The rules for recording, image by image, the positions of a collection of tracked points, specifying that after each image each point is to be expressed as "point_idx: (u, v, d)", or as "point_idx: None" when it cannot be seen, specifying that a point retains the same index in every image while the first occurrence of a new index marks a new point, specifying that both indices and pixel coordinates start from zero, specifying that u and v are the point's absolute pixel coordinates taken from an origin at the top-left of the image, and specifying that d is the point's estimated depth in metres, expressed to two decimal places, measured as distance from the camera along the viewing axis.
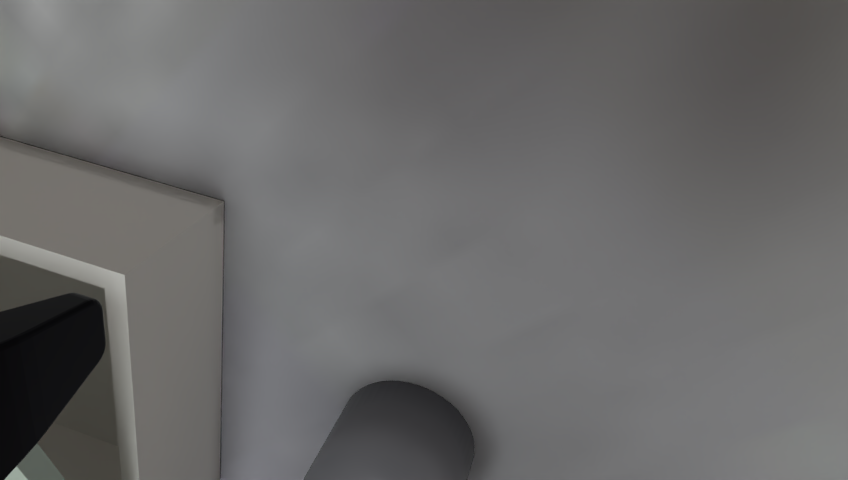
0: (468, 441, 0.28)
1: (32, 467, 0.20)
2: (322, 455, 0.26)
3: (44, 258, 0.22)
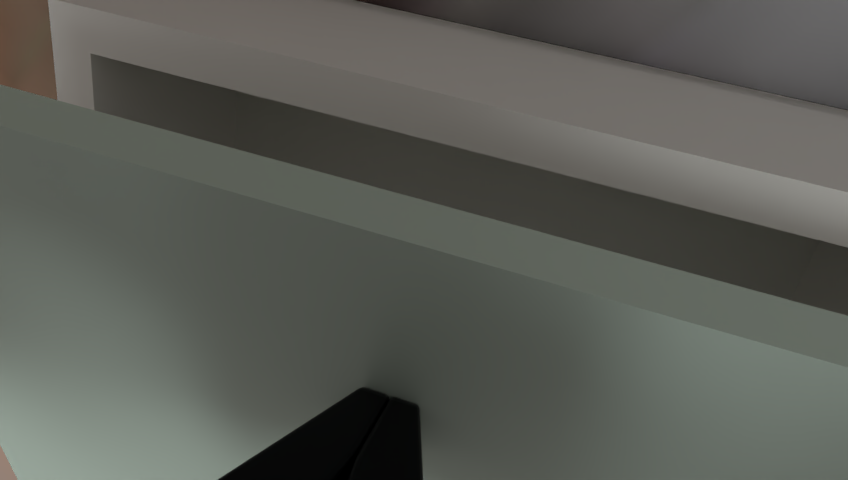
0: None
1: None
2: None
3: (811, 208, 0.10)
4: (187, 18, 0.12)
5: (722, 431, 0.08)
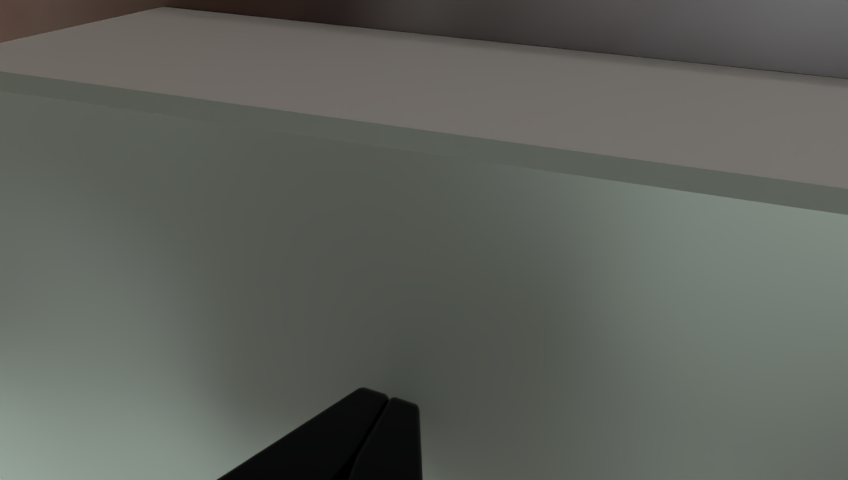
0: None
1: None
2: None
3: None
4: (84, 65, 0.10)
5: (736, 318, 0.08)
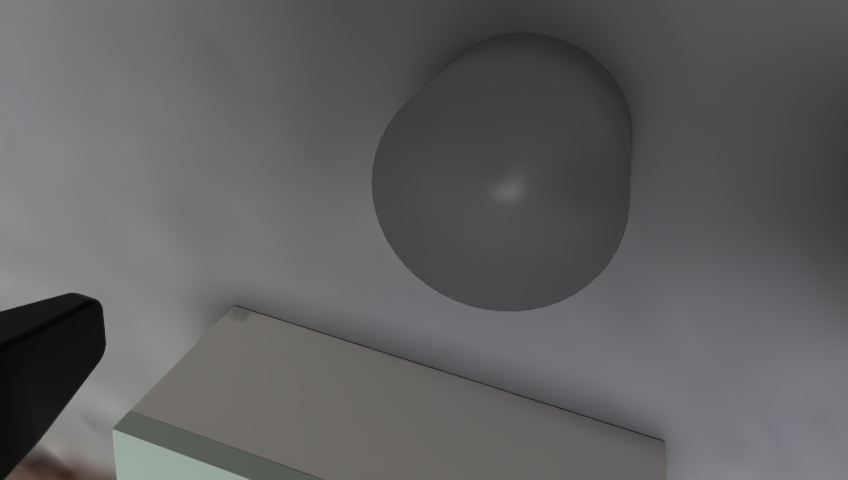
0: (491, 41, 0.18)
1: (220, 459, 0.19)
2: None
3: None
4: None
5: None
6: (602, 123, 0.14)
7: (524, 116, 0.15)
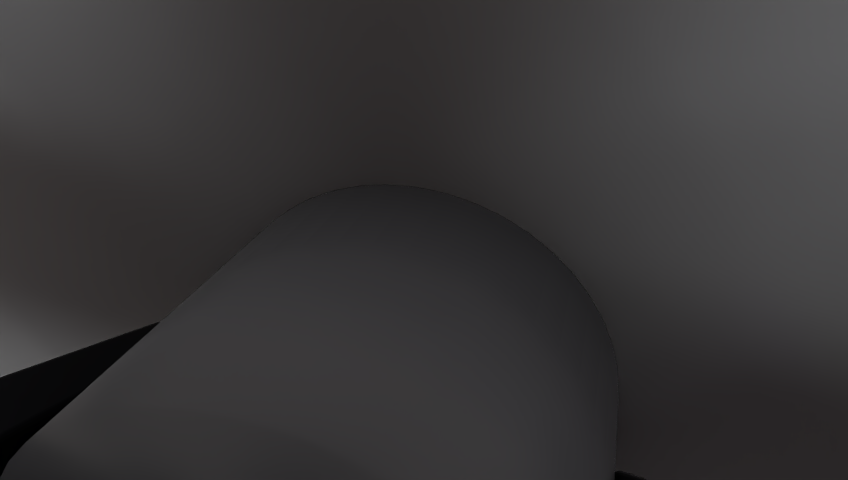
0: (322, 207, 0.09)
1: None
2: None
3: None
4: None
5: None
6: None
7: None
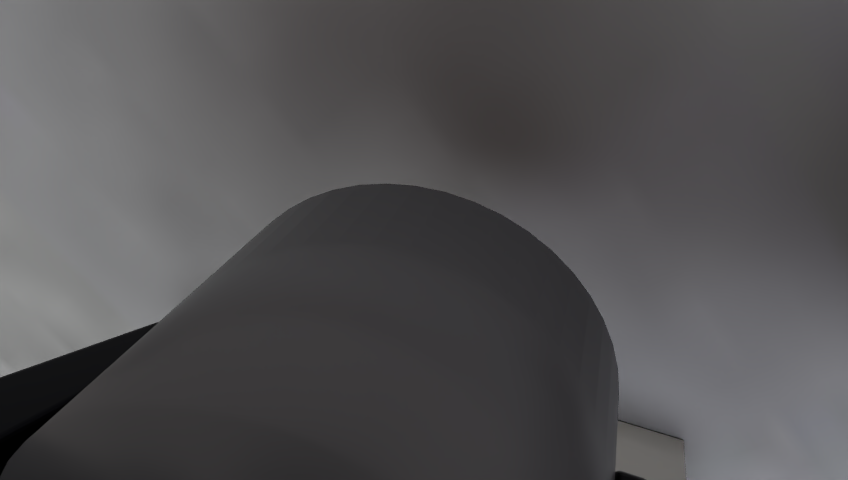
0: (322, 206, 0.09)
1: None
2: None
3: None
4: None
5: None
6: None
7: None
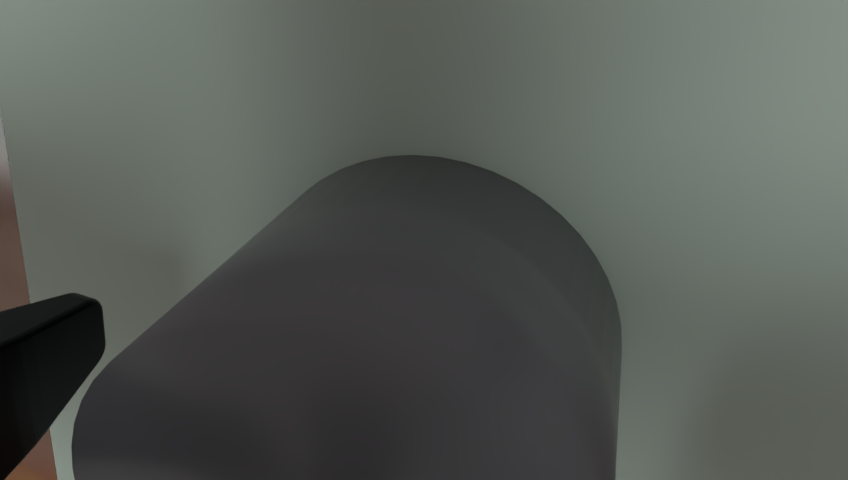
0: (354, 174, 0.10)
1: None
2: None
3: None
4: None
5: (57, 4, 0.10)
6: (540, 461, 0.06)
7: (356, 424, 0.06)
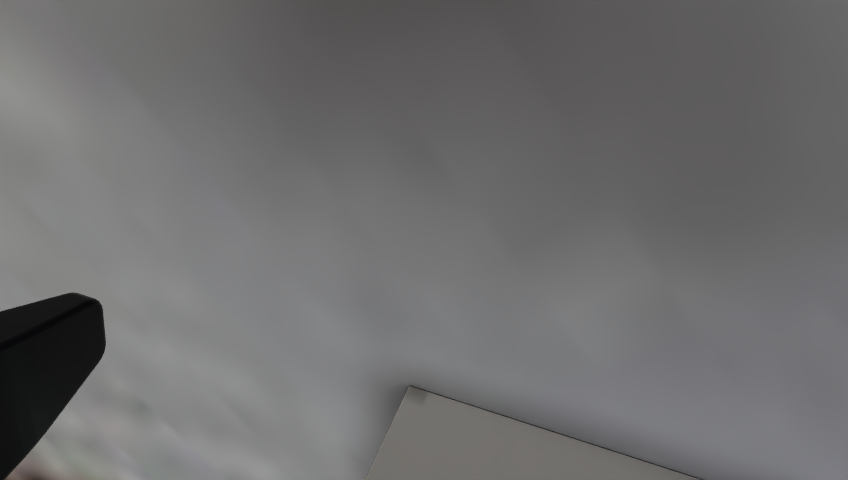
0: None
1: None
2: None
3: None
4: None
5: None
6: None
7: None
